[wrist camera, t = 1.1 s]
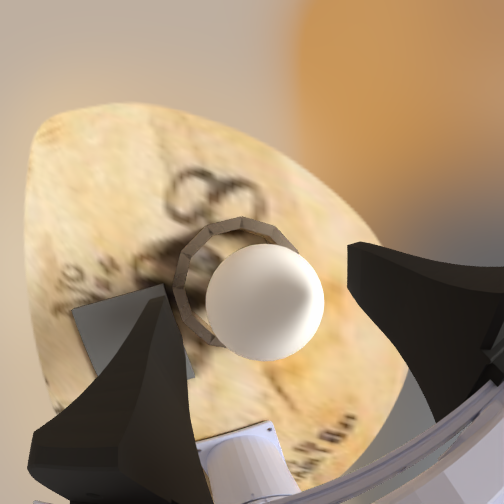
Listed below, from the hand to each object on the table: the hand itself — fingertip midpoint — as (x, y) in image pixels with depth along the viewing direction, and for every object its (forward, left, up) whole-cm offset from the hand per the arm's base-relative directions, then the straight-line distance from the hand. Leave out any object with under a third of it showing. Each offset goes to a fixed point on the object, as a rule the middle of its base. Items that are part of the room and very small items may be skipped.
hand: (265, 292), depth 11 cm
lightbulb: (-1, -1, -12) cm, 12 cm away
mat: (-4, +9, -12) cm, 15 cm away
